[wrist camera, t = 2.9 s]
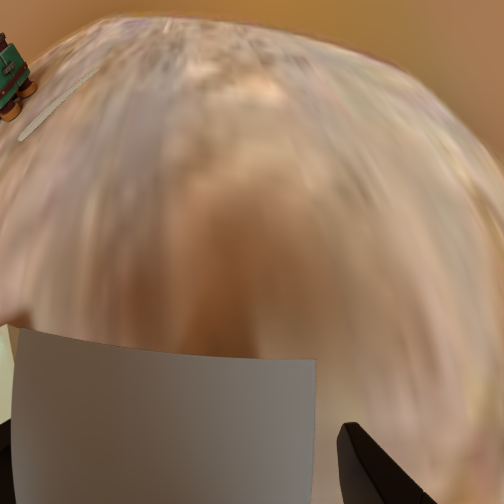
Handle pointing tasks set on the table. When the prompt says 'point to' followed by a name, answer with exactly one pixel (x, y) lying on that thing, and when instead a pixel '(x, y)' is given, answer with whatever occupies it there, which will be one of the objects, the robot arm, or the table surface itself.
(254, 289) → the table surface
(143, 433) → the post
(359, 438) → the robot arm
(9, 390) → the tray
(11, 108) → the binoculars
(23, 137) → the butter knife
